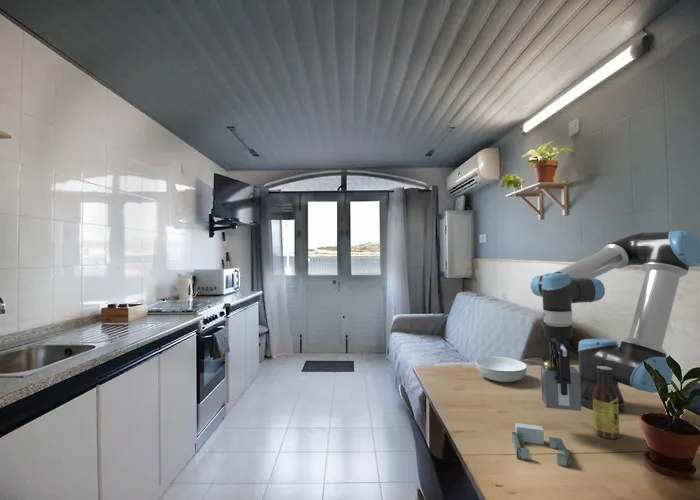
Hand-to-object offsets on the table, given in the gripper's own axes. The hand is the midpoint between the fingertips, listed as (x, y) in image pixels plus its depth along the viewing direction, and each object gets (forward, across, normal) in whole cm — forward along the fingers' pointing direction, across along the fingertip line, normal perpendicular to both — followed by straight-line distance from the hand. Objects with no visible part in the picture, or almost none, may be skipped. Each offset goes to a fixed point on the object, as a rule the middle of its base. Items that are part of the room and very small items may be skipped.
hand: (560, 400), depth 106 cm
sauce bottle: (+10, -2, +12) cm, 16 cm away
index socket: (+9, +14, -9) cm, 19 cm away
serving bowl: (+11, -46, -13) cm, 48 cm away
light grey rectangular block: (+9, +8, -10) cm, 16 cm away
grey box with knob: (+1, 0, 0) cm, 1 cm away
